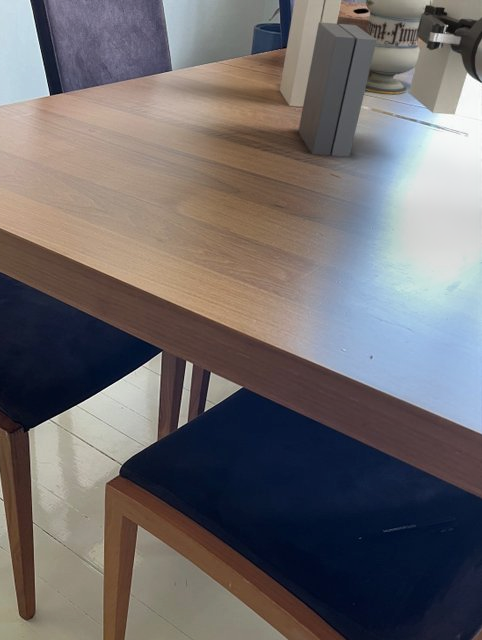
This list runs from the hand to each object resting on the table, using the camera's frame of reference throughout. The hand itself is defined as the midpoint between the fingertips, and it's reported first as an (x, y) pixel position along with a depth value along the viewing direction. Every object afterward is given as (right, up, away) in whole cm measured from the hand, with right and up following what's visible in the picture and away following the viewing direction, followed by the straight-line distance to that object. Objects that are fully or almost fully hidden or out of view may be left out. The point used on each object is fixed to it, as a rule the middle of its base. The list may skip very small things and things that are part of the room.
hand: (439, 17), depth 99 cm
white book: (-1, -11, +2) cm, 11 cm away
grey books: (-15, -16, +5) cm, 22 cm away
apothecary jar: (+5, +11, +41) cm, 43 cm away
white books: (-13, +3, +29) cm, 32 cm away
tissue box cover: (+4, +24, +57) cm, 62 cm away
